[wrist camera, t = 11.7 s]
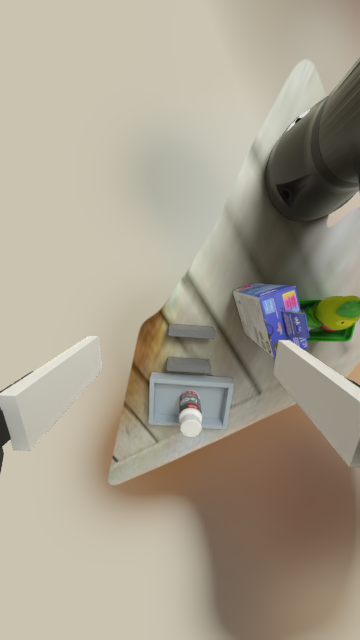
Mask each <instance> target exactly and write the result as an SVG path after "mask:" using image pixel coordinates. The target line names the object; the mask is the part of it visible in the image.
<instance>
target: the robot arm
mask: <svg viewBox="0 0 360 640" xmlns="http://www.w3.org/2000/svg"><path fill="white" fill-rule="evenodd" d="M266 187H267V192H268V195H269V198H270V200H271V202H272V204H273V205H274V207H275V208H276V209H277V210H278V211H279V212H280V213H281V214H282V215H284V216H285V217H287V218H289V219H292V220H296V221H311V220H315V219H318V218H321V217H323V216H326V215H328V214H330V213H332V212H334V211H336V210H337V209H339V208H340V207H342V206H343V205H344V204H346V203H347V202H348V201H349V200H350V199H351V198H352V197H353V196H354V195H355V194H356V193H357V192H358V191H360V58H359V59H358V60H357V62H356V63H355V64H354V65H353V66H352V68H351V69H350V70H349V71H348V73H347V74H346V75H345V76H344V78H343V79H342V80H341V81H340V83H339V84H338V85H337V86H336V87H335V89H334V90H333V91H332V92H331V93H330V95H329V96H327V97H326V98H324V99H323V100H321V101H320V102H319V103H317V104H316V105H314V106H313V107H312V108H310V109H309V110H307V111H306V112H304V113H303V114H301V115H300V116H299V117H298V118H296V119H295V120H294V121H293V122H292V123H291V124H290V125H289V127H288V128H287V129H286V130H285V132H284V133H283V135H282V136H281V137H280V139H279V140H278V142H277V143H276V145H275V146H274V148H273V150H272V152H271V155H270V157H269V161H268V164H267V170H266ZM102 369H103V368H102V360H101V351H100V343H99V336H88V337H86V338H85V339H84V340H82V341H80V342H79V343H77V344H75V345H74V346H72V347H71V348H69V349H68V350H66V351H65V352H63V353H62V354H60V355H58V356H57V357H55V358H54V359H52V360H51V361H49V362H48V363H46V364H45V365H43V366H41V367H40V368H38V369H37V370H35V371H32V372H30V373H29V374H27V375H25V376H24V377H22V378H21V379H20V380H18V381H16V382H15V383H14V384H11V385H10V386H8V387H7V388H5V389H4V390H2V391H0V472H1V466H2V461H3V455H4V453H3V449H2V446H3V445H4V444H5V443H7V441H9V440H11V443H12V446H13V449H14V450H21V451H31V450H32V449H33V448H34V447H35V445H37V443H38V442H39V441H40V440H41V439H42V438H43V437H44V435H45V434H46V433H47V432H48V431H49V430H50V429H51V427H52V426H53V425H54V424H55V423H56V422H57V421H58V419H59V418H60V417H61V416H62V415H63V414H64V413H65V411H66V410H67V409H68V408H69V407H70V406H71V405H72V404H73V402H74V401H75V400H76V399H77V398H78V397H79V396H80V394H81V393H82V392H83V391H84V390H85V389H86V388H87V386H88V385H89V384H90V383H91V382H92V380H94V378H95V377H96V376H97V375H98V374H99V373H100V372H101V370H102ZM273 375H274V376H275V377H276V378H277V380H278V381H279V382H280V383H281V384H282V386H283V387H284V388H285V389H286V390H287V392H288V393H289V394H290V395H291V397H292V398H293V399H294V400H295V401H296V403H297V404H298V405H299V406H300V407H301V408H302V410H303V411H304V412H305V413H306V415H307V416H308V417H309V418H310V419H311V421H312V422H313V423H314V424H315V426H316V427H317V428H318V429H319V430H320V432H321V433H322V434H323V435H324V436H325V438H326V439H327V440H328V441H329V442H330V444H331V445H332V446H333V447H334V449H335V450H336V451H337V452H338V453H339V455H340V456H341V457H342V458H343V460H344V461H345V462H346V463H347V464H348V466H349V467H360V385H358V384H357V383H355V382H354V381H351V380H349V379H347V378H345V377H343V376H341V375H340V374H338V373H337V372H336V371H334V370H333V369H331V368H330V367H328V366H327V365H325V364H324V363H322V362H321V361H319V360H318V359H316V358H315V357H313V356H312V355H310V354H309V353H308V352H306V351H305V350H303V349H302V348H300V347H299V346H297V345H296V344H294V343H293V342H291V341H290V340H278V346H277V353H276V359H275V365H274V371H273Z"/></svg>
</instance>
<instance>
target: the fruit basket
mask: <svg viewBox="0 0 360 640" xmlns="http://www.w3.org/2000/svg"><path fill="white" fill-rule="evenodd" d="M298 301H299V305H300V310H301V312H302V313H305V315H306V321H307V325H308V331H309V337H310V338H307V341H340V342H346V341H349V340H350V339H351V338H352V335H353V331H354V327H355V323H356V322H357V320H358V319H359V318H360V298H358V297H356V296H345V297H343V296H333V297H329V298H326V299H324V300H298Z"/></svg>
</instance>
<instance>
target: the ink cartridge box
mask: <svg viewBox="0 0 360 640" xmlns="http://www.w3.org/2000/svg"><path fill="white" fill-rule="evenodd" d="M233 295H234V298H235V302H236V305H237V308H238V312H239V315H240V319H241V322H242V325H243V329H244V332H245V334H246V335H248V336H249V337H250V338H251V339H252V340H253V341H254V342H256V343H257V344H258V345H259V346H260V347H261V348H262V349H264V350H265V351H266V352H267V353H268V354H269V355H270V356H272V357H273V358H274V359H276V353H277V346H278V340H290V341H291V342H293V343H294V344H296V345H297V346H299V347H300V348H302V349H303V350H306V349H308V343H307V338H310V337H309V331H308V325H307V321H306V315H305V313H302V312H301V310H300V305H299V301H298V295H297V291H296V286H292V285H275V284H263V283H253V284H250V285H247V286H244V287H241V288H238V289H235V290H233Z"/></svg>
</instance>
